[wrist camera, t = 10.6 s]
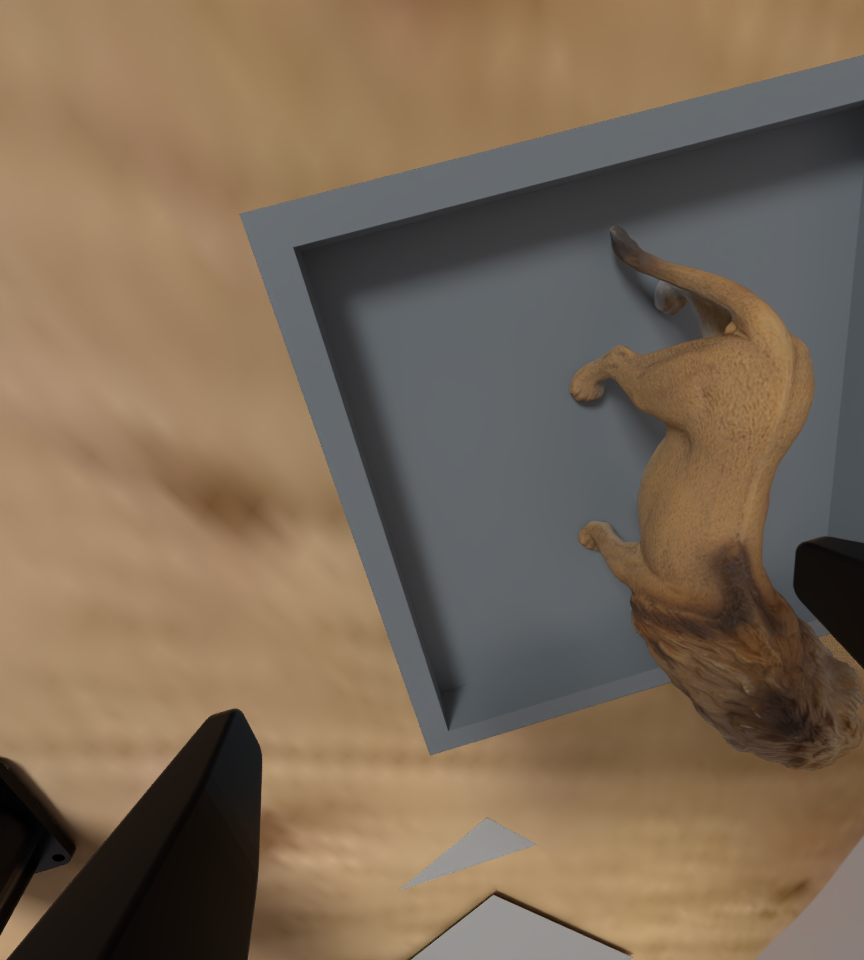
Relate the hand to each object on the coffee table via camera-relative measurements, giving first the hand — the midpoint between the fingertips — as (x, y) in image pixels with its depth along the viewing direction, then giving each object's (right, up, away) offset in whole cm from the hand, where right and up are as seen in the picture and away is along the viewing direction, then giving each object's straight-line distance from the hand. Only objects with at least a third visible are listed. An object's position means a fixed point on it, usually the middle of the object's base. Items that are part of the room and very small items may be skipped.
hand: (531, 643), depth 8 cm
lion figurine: (+6, +4, +11) cm, 13 cm away
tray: (+5, +4, +11) cm, 13 cm away
